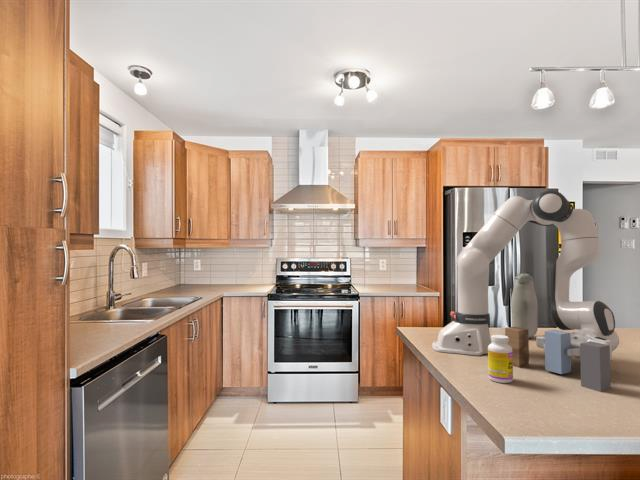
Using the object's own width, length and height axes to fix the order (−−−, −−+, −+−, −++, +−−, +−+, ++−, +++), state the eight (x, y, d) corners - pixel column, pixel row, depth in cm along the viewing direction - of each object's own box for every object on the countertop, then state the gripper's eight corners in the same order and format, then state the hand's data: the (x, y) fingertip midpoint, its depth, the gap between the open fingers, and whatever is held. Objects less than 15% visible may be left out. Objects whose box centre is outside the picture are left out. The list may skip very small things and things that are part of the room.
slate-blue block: (561, 374, 116) (560, 334, 116) (545, 369, 120) (544, 331, 120) (571, 371, 118) (570, 332, 118) (554, 367, 122) (554, 329, 123)
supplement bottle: (511, 385, 109) (510, 340, 109) (486, 381, 112) (485, 337, 113) (514, 378, 114) (513, 335, 115) (490, 374, 118) (489, 333, 118)
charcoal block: (600, 391, 103) (599, 347, 104) (581, 386, 108) (580, 343, 108) (610, 388, 106) (609, 345, 106) (591, 383, 110) (590, 341, 110)
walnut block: (519, 367, 125) (518, 330, 125) (505, 363, 129) (505, 328, 130) (529, 365, 127) (528, 329, 127) (515, 361, 132) (514, 326, 132)
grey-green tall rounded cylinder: (508, 334, 172) (507, 272, 173) (532, 335, 171) (531, 272, 172) (516, 340, 162) (515, 274, 163) (542, 340, 161) (540, 274, 162)
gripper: (550, 329, 134) (524, 333, 128) (616, 341, 116) (590, 347, 110) (550, 347, 134) (524, 352, 128) (617, 362, 116) (591, 369, 110)
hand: (555, 349), depth 119 cm, fingers closed on slate-blue block, 5 cm apart
